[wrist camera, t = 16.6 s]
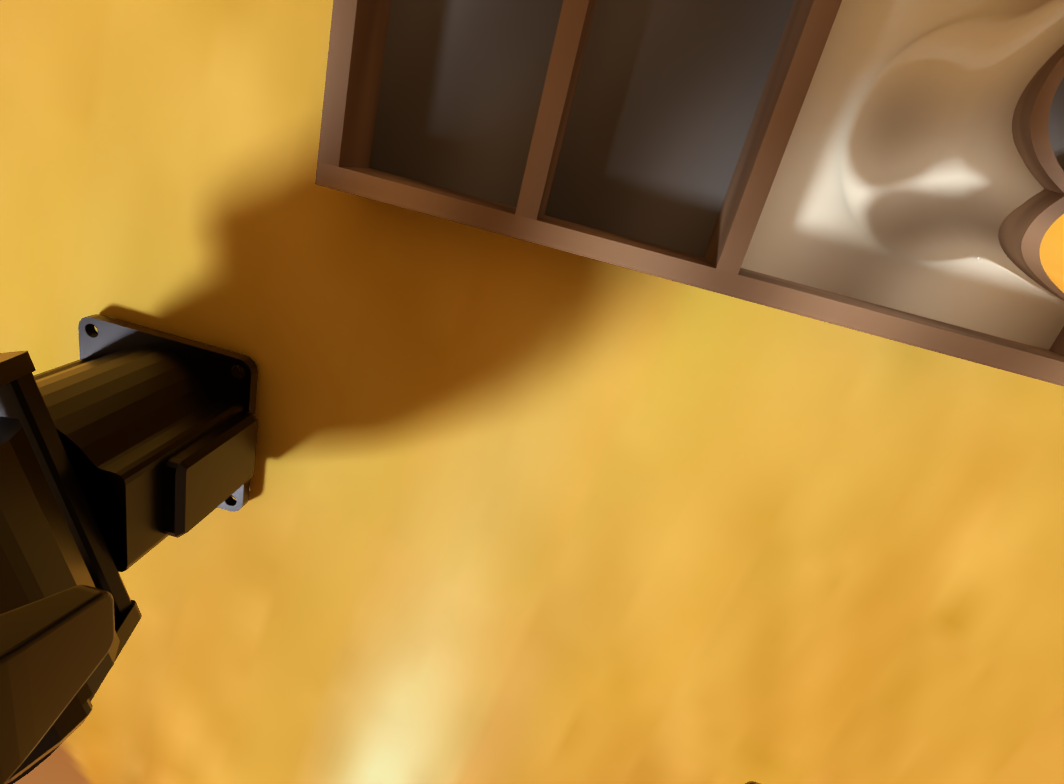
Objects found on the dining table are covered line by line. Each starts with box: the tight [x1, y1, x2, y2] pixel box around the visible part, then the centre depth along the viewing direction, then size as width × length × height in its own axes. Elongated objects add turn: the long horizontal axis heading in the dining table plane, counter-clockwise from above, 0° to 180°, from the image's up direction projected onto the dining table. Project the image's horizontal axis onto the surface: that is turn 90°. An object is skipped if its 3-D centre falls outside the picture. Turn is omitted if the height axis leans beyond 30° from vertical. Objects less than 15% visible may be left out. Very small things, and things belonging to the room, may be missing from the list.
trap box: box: [315, 0, 1064, 386], centre depth 15 cm, size 22×11×2 cm, turn 76°
